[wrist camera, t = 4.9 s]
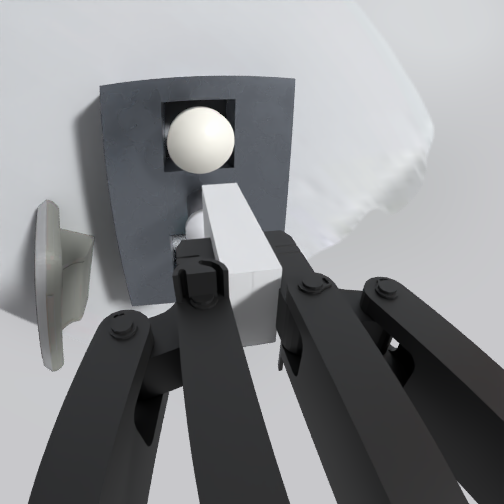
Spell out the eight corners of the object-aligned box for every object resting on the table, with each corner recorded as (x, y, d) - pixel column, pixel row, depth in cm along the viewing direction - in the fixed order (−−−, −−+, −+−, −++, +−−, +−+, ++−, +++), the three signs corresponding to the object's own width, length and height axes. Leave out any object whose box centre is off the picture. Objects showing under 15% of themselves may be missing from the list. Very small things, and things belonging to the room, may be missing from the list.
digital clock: (46, 188, 28) (3, 235, 19) (117, 220, 32) (99, 278, 23) (22, 296, 33) (-4, 355, 24) (80, 320, 37) (66, 383, 28)
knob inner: (170, 154, 29) (168, 176, 23) (168, 103, 26) (165, 111, 20) (221, 151, 30) (233, 172, 24) (222, 101, 27) (235, 108, 21)
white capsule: (184, 218, 28) (187, 253, 23) (182, 187, 26) (184, 216, 22) (217, 216, 29) (227, 249, 24) (216, 185, 27) (227, 213, 22)
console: (135, 278, 36) (132, 306, 32) (111, 84, 24) (99, 86, 20) (266, 266, 39) (278, 291, 35) (277, 78, 28) (295, 78, 23)
